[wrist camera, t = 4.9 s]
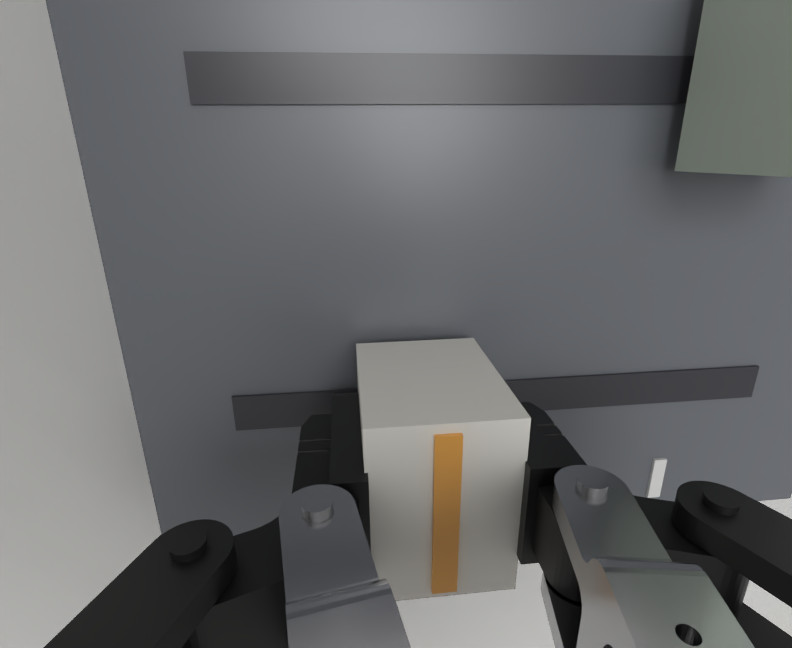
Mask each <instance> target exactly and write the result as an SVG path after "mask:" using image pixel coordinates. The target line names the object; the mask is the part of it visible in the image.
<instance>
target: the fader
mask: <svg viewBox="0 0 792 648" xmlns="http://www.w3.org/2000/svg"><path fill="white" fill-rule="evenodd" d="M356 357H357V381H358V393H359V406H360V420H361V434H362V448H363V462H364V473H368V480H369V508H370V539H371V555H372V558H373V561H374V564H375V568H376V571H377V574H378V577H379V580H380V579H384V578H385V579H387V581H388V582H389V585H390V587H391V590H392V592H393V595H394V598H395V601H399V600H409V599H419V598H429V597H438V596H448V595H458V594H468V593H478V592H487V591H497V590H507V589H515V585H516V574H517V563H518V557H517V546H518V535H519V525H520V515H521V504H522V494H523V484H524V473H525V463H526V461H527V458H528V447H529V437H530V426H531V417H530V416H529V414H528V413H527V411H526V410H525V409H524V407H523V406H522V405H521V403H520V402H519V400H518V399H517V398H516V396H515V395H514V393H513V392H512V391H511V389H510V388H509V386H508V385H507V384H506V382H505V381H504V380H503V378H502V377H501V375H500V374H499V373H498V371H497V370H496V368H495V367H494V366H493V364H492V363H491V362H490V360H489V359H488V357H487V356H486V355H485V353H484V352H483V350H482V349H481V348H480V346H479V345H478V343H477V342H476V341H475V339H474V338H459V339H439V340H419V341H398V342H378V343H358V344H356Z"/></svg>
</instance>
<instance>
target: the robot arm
mask: <svg viewBox="0 0 792 648" xmlns="http://www.w3.org/2000/svg"><path fill="white" fill-rule="evenodd" d="M509 388H510V387H509ZM510 389H511V388H510ZM511 391H512V390H511ZM512 392H513V391H512ZM513 393H514V392H513ZM514 395H515V394H514ZM515 396H516V395H515ZM516 398H517V397H516ZM517 399H518V398H517ZM518 400H519V399H518ZM519 402H520V401H519ZM520 403H521V405H522V406H523V407H524V409H525V410H526V411H527V413H528V414H529V416H530V417H531V426H530V437H529V447H528V458H527V461H526V463H525V473H524V484H523V494H522V504H521V515H520V525H519V535H518V546H517V557H518V559H519V561H520V564H530V563H539V564H540V566H541V568H542V570H543V574H542V582H541V592H542V597H543V601H544V605H545V609H546V613H547V617H548V621H549V624H550V628H551V632H552V636H553V640H554V644H555V648H792V637H791V636H790V635H789V634H787V633H786V632H784V631H783V630H781V629H780V628H779V627H777V626H776V625H774V624H773V623H771V622H770V621H768V620H767V619H766V618H764V617H763V616H761V615H760V614H758V613H757V612H756V611H754V610H753V609H751V608H750V607H748V606H747V605H746V604H744V603H743V599H744V596H745V592H746V589H747V586H748V583H749V580H751V581H752V582H754V583H755V584H757V585H758V586H760V587H761V588H763V589H764V590H766V591H767V592H769V593H771V594H772V595H774V596H775V597H777V598H778V599H780V600H781V601H783V602H784V603H786V604H787V605H789V606H790V607H792V519H790V518H788V517H786V516H784V515H783V514H781V513H779V512H777V511H775V510H773V509H771V508H769V507H767V506H765V505H764V504H762V503H760V502H758V501H756V500H754V499H752V498H750V497H748V496H747V495H745V494H743V493H741V492H739V491H737V490H735V489H733V488H730V487H727V486H725V485H721V484H718V483H714V482H708V481H689V482H686V483H683V484H682V485H680V486H679V487H678V489H677V493H676V497H675V502H674V501H667V500H660V499H653V498H646V497H640V496H635V495H633V494H632V493H631V491H630V489H629V488H628V486H627V485H626V484H625V483H624V482H623V481H622V480H621V479H620V478H618V477H617V476H615V475H614V474H612V473H610V472H608V471H606V470H603V469H601V468H597V467H593V466H588V465H587V464H586V463H585V462H584V460H583V459H582V458H581V456H580V455H579V454H578V453H577V451H576V450H575V449H574V448H573V446H572V445H571V444H570V442H569V441H568V440H567V439H566V437H565V436H562V432H561V431H560V430H559V429H558V427H557V426H555V425H554V422H553V421H552V420H551V418H550V417H549V416H548V415H547V413H546V412H545V411H543V410H542V409H540V408H539V407H537V406H535V405H534V404H532V403H530V402H520ZM44 648H411V647H410V644H409V641H408V638H407V635H406V632H405V629H404V626H403V623H402V620H401V617H400V614H399V611H398V607H397V604H396V601H395V598H394V595H393V592H392V590H391V587H390V585H389V582H388V581H387V579H385V578H384V579H380V580H379V577H378V574H377V571H376V568H375V564H374V561H373V558H372V555H371V539H370V508H369V480H368V473H364V462H363V448H362V434H361V420H360V406H359V393H358V392H357V393H339V394H332V414H317V415H311V416H310V417H309V418H308V419H307V421H306V422H305V423H304V424H303V425H302V426H301V432H300V439H299V446H298V454H297V460H296V467H295V474H294V481H293V488H292V494H291V495H290V496H289V497H288V498H286V500H285V501H284V502H283V503H282V505H281V507H280V510H279V516H278V517H276V518H275V519H274V520H272V521H271V522H269V523H267V524H265V525H263V526H261V527H259V528H256V529H253V530H250V531H247V532H244V533H241V534H238V535H235V536H233V533H232V531H231V530H230V528H229V527H228V526H227V525H225V524H224V523H222V522H219V521H216V520H211V519H201V520H193V521H189V522H186V523H182V524H180V525H177V526H175V527H173V528H171V529H169V530H168V531H166V532H165V533H163V534H162V535H160V536H159V537H158V538H157V539H156V540H155V541H154V542H153V543H152V544H150V545H149V546H148V547H147V548H146V549H145V550H144V551H143V552H142V553H141V554H140V555H139V556H138V557H137V558H136V559H135V560H134V561H133V562H132V563H131V564H130V565H129V566H128V567H127V568H126V569H125V570H124V571H123V572H121V573H120V574H119V575H118V576H117V577H116V578H115V579H114V580H113V581H112V582H111V583H110V584H109V585H108V586H107V587H106V588H105V589H104V590H103V591H102V592H101V593H100V594H99V595H98V596H97V597H96V598H95V599H94V600H92V601H91V602H90V603H89V604H88V605H87V606H86V607H85V608H84V609H83V610H82V611H81V612H80V613H79V614H78V615H77V616H76V617H75V618H74V619H73V620H72V621H71V622H70V623H69V624H68V625H67V626H66V627H65V628H63V629H62V630H61V631H60V632H59V633H58V634H57V635H56V636H55V637H54V638H53V639H52V640H51V641H50V642H49V643H48V644H47V645H46V646H45V647H44Z"/></svg>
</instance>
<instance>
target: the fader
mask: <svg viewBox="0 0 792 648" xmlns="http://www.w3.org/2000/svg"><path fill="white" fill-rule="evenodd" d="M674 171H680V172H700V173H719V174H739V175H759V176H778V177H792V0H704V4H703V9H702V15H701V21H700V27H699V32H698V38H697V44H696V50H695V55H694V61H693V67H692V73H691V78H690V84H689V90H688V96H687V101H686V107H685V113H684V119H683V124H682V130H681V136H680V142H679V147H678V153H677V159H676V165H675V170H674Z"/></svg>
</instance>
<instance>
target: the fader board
mask: <svg viewBox="0 0 792 648" xmlns="http://www.w3.org/2000/svg"><path fill="white" fill-rule="evenodd" d="M46 4H47V9H48V13H49V18H50V22H51V27H52V32H53V36H54V41H55V45H56V50H57V55H58V59H59V64H60V68H61V73H62V78H63V82H64V87H65V91H66V96H67V101H68V105H69V110H70V114H71V119H72V124H73V128H74V133H75V137H76V142H77V147H78V151H79V156H80V160H81V165H82V170H83V174H84V179H85V183H86V188H87V193H88V197H89V202H90V207H91V211H92V216H93V220H94V225H95V230H96V234H97V239H98V243H99V248H100V253H101V257H102V262H103V266H104V271H105V276H106V280H107V285H108V289H109V294H110V299H111V303H112V308H113V312H114V317H115V322H116V326H117V331H118V335H119V340H120V345H121V349H122V354H123V358H124V363H125V368H126V372H127V377H128V381H129V386H130V391H131V395H132V400H133V405H134V409H135V414H136V418H137V423H138V428H139V432H140V437H141V441H142V446H143V451H144V455H145V460H146V464H147V469H148V474H149V478H150V483H151V487H152V492H153V497H154V501H155V506H156V510H157V515H158V520H159V524H160V529H161V533H162V534H163V533H165V532H166V531H168V530H169V529H171V528H173V527H175V526H177V525H180V524H182V523H186V522H189V521H193V520H201V519H211V520H216V521H219V522H222V523H224V524H225V525H227V526H228V527H229V528H230V530H231V531H232V533H233V536H235V535H238V534H241V533H244V532H247V531H250V530H253V529H256V528H259V527H261V526H263V525H265V524H267V523H269V522H271V521H272V520H274V519H275V518H276V517H278V516H279V510H280V507H281V505H282V503H283V502H284V501H285V500H286V498H288V497H289V496H290V495H291V494H292V488H293V481H294V474H295V467H296V460H297V454H298V446H299V439H300V432H301V426H302V425H303V424H304V423H305V422H306V421H307V419H308V418H309V417H310V416H311V415H317V414H332V394H339V393H357V392H358V381H357V357H356V344H358V343H378V342H398V341H419V340H439V339H459V338H474V339H475V341H476V342H477V343H478V345H479V346H480V348H481V349H482V350H483V352H484V353H485V355H486V356H487V357H488V359H489V360H490V362H491V363H492V364H493V366H494V367H495V368H496V370H497V371H498V373H499V374H500V375H501V377H502V378H503V380H504V381H505V382H506V384H507V385H508V386H509V387H510V388H511V390H512V391H513V392H514V394H515V395H516V397H517V398H518V399H519V401H520V402H530V403H532V404H534V405H535V406H537V407H539V408H540V409H542V410H543V411H545V412H546V413H547V415H548V416H549V417H550V418H551V420H552V421H553V422H554V425H555V426H557V427H558V429H559V430H560V431H561V432H562V436H565V437H566V439H567V440H568V441H569V442H570V444H571V445H572V446H573V448H574V449H575V450H576V451H577V453H578V454H579V455H580V456H581V458H582V459H583V460H584V462H585V463H586V464H587V465H588V466H593V467H597V468H601V469H603V470H606V471H608V472H610V473H612V474H614V475H615V476H617V477H618V478H620V479H621V480H622V481H623V482H624V483H625V484H626V485H627V486H628V488H629V489H630V491H631V493H632V494H633V495H635V496H640V497H646V498H653V499H660V500H667V501H674V502H675V497H676V493H677V489H678V487H679V486H680V485H682V484H683V483H686V482H689V481H708V482H714V483H718V484H721V485H725V486H727V487H730V488H733V489H735V490H737V491H739V492H741V493H743V494H745V495H747V496H748V497H750V498H752V499H754V500H756V501H763V500H774V499H786V498H790V497H791V494H792V177H778V176H759V175H739V174H719V173H700V172H680V171H674V170H675V165H676V159H677V153H678V147H679V142H680V136H681V130H682V124H683V119H684V113H685V107H686V101H687V96H688V90H689V84H690V78H691V73H692V67H693V61H694V55H695V50H696V44H697V38H698V32H699V27H700V21H701V15H702V9H703V4H704V0H46Z"/></svg>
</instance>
